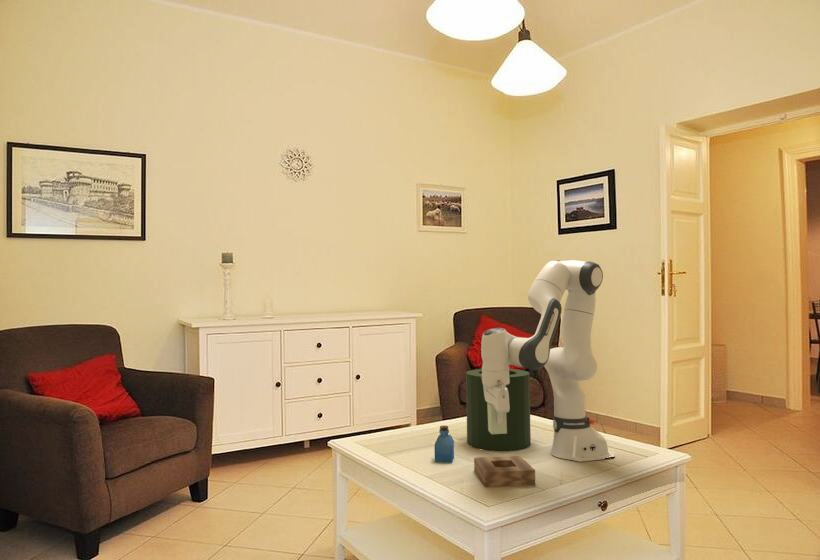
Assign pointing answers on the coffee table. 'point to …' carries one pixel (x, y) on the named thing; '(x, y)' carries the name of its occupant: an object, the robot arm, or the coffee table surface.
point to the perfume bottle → (444, 446)
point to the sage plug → (492, 424)
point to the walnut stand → (504, 471)
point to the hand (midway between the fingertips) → (497, 420)
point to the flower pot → (516, 417)
